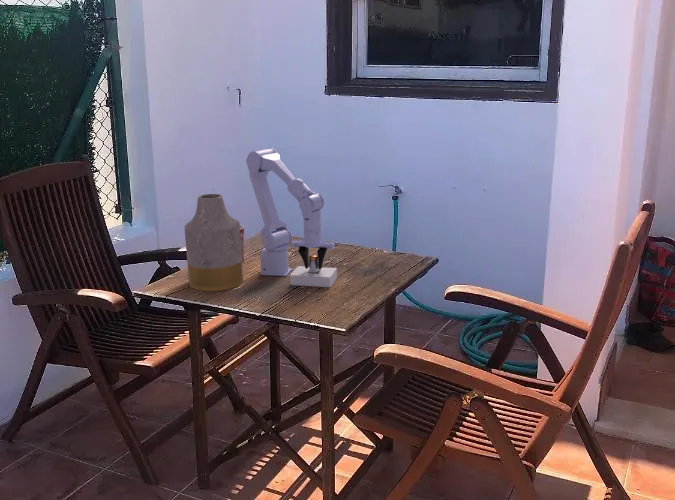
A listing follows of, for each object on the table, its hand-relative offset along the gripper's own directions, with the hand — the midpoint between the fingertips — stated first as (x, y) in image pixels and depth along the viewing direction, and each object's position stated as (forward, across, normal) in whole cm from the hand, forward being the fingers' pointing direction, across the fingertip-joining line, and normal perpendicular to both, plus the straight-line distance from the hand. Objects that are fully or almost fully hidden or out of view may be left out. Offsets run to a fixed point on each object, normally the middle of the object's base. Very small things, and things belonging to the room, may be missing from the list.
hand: (313, 268), depth 249 cm
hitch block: (+5, 0, 0) cm, 5 cm away
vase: (+5, -33, -7) cm, 34 cm away
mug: (+5, -37, +17) cm, 41 cm away
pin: (+5, 0, 0) cm, 5 cm away
